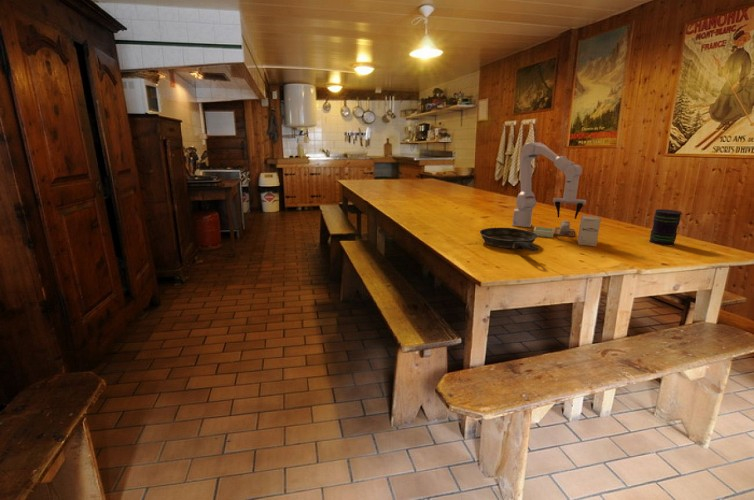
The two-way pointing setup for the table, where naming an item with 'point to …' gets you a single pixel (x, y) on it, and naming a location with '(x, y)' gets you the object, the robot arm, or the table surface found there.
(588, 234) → the supplement box
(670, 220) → the storage jar
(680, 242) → the table surface
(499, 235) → the frying pan
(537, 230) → the bin
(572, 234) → the shallow brown tray
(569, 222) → the stone back
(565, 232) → the stone front
